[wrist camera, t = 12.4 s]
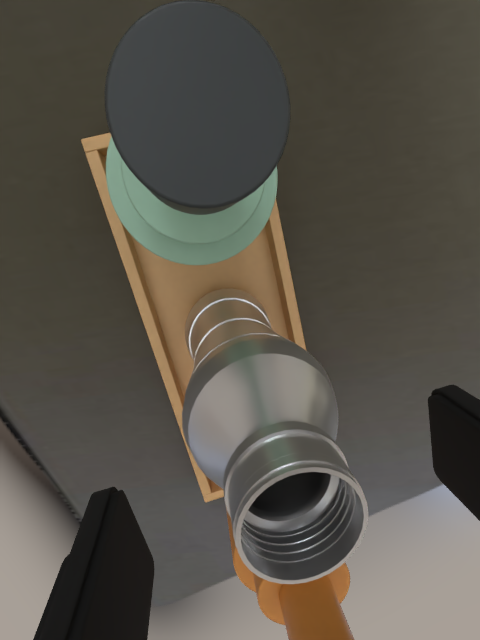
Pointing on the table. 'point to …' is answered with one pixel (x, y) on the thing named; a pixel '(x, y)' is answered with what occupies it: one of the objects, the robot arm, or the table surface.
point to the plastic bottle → (269, 441)
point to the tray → (197, 292)
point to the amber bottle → (301, 601)
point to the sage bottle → (194, 131)
